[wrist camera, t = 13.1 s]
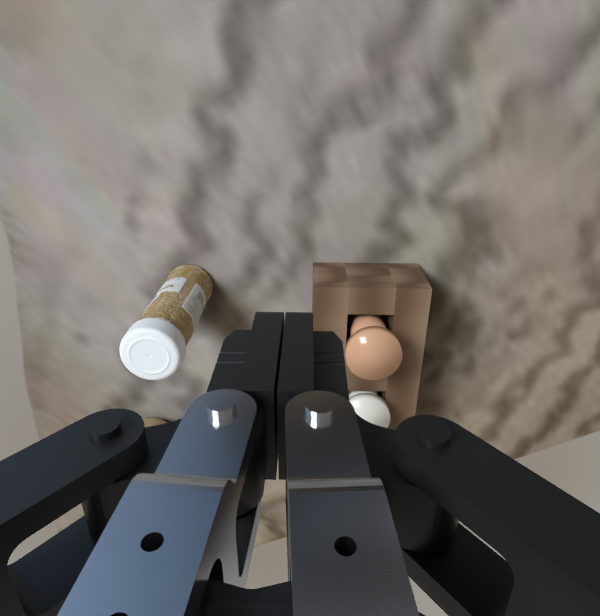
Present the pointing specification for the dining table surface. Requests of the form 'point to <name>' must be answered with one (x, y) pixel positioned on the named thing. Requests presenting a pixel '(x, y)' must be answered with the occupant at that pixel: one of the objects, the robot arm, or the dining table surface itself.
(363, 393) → the cream plug
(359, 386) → the walnut block
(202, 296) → the sprinkles bottle
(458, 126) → the dining table surface
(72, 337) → the dining table surface
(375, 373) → the terracotta plug
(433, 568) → the robot arm
